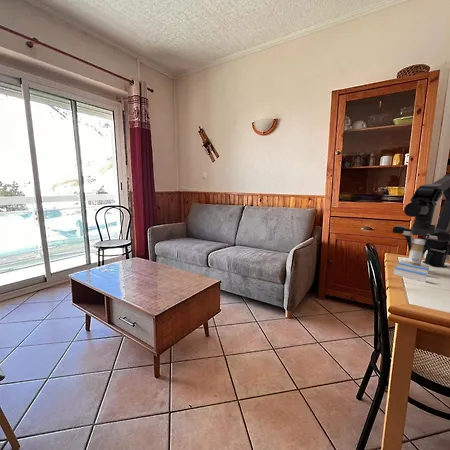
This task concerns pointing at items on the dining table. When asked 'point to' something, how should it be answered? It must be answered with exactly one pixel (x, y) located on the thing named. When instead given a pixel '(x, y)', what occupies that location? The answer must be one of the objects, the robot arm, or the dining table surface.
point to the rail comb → (412, 270)
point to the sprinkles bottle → (416, 251)
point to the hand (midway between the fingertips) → (416, 252)
